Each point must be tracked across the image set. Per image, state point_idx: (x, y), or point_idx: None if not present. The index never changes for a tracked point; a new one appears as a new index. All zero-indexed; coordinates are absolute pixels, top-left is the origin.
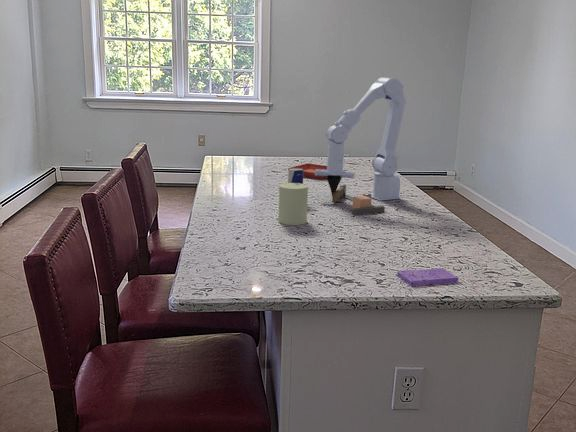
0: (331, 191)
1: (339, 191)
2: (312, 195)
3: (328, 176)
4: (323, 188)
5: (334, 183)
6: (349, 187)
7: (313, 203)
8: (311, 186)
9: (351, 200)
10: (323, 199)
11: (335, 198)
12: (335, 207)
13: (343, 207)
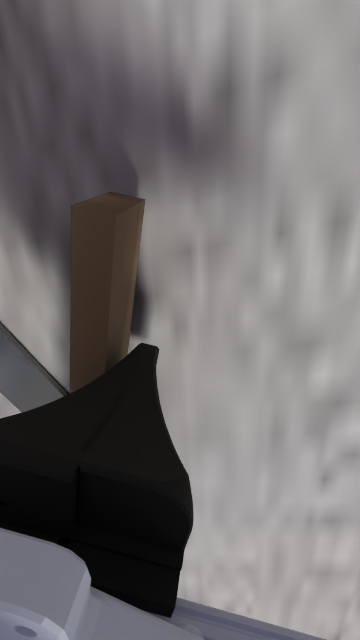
0: (151, 369)
1: (72, 379)
2: (319, 457)
3: (160, 577)
4: (232, 584)
5: (77, 415)
6: None
7: (354, 171)
8: (300, 615)
9: (16, 341)
10: (236, 353)
11: (97, 199)
12: (93, 8)
13: (10, 41)
